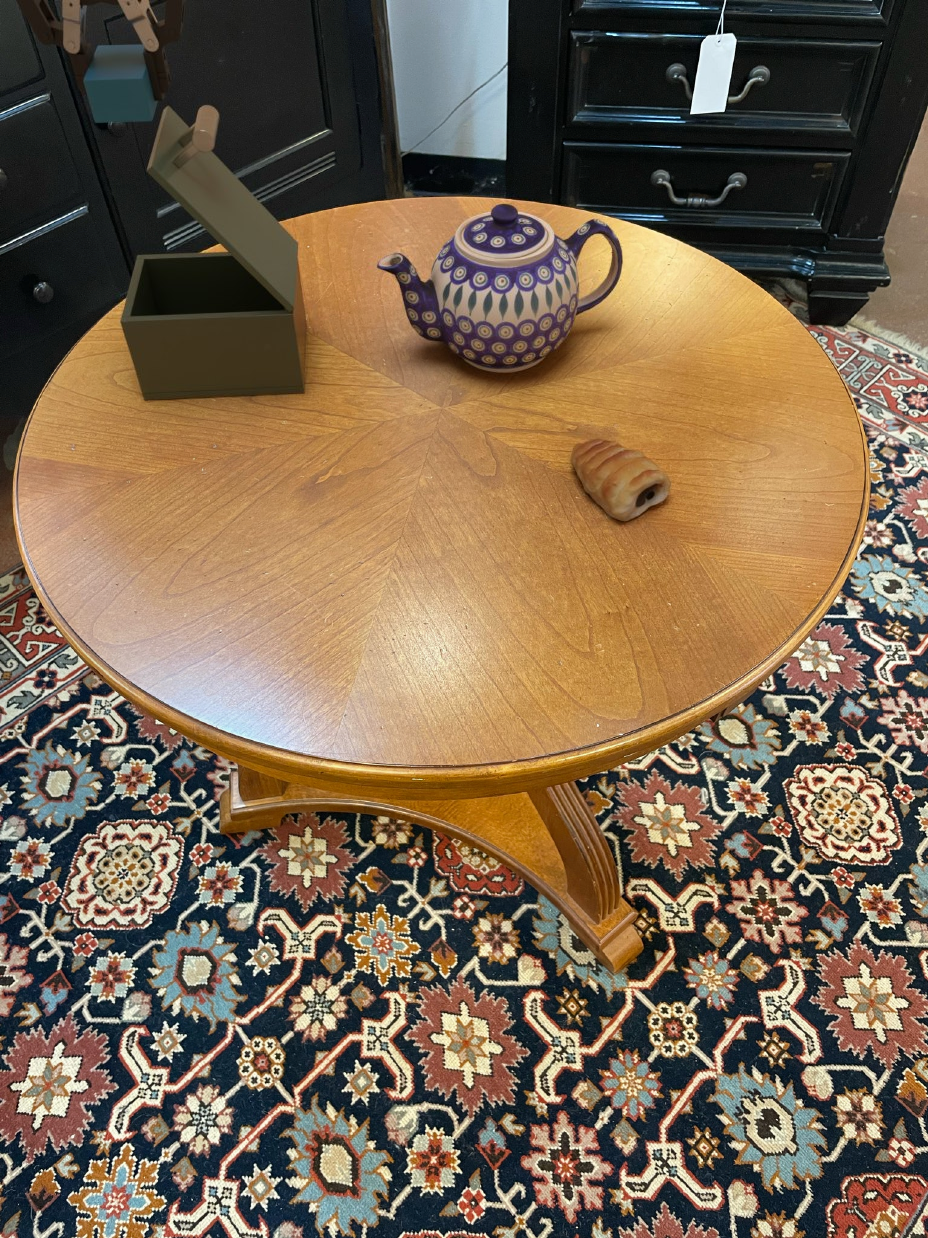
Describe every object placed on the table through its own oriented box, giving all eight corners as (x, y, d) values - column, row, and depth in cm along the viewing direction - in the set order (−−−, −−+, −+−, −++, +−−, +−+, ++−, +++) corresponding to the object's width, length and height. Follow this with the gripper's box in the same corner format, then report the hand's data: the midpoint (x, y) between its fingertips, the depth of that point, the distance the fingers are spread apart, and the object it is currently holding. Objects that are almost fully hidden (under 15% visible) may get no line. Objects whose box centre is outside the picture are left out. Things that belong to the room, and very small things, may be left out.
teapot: (592, 291, 106) (608, 157, 95) (637, 370, 97) (662, 231, 86) (370, 319, 103) (359, 182, 91) (396, 404, 93) (387, 263, 82)
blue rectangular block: (108, 86, 80) (97, 44, 78) (163, 85, 80) (153, 43, 78) (94, 123, 76) (82, 79, 73) (152, 121, 76) (142, 77, 73)
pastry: (551, 471, 87) (554, 438, 84) (605, 443, 90) (611, 410, 87) (621, 529, 82) (627, 497, 79) (676, 498, 85) (685, 465, 82)
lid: (145, 171, 77) (188, 132, 75) (163, 109, 84) (201, 73, 82) (289, 312, 87) (329, 281, 85) (293, 247, 95) (330, 217, 93)
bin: (144, 400, 93) (119, 321, 87) (158, 332, 101) (137, 254, 94) (304, 393, 94) (292, 314, 88) (307, 326, 102) (296, 248, 95)
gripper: (175, -184, 67) (220, 77, 81) (-33, -182, 67) (47, 81, 80) (162, -158, 63) (213, 115, 76) (-62, -155, 62) (29, 120, 75)
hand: (128, 96), depth 78 cm, fingers closed on blue rectangular block, 4 cm apart
